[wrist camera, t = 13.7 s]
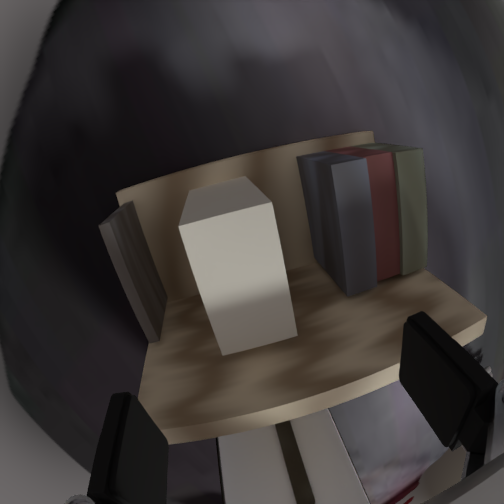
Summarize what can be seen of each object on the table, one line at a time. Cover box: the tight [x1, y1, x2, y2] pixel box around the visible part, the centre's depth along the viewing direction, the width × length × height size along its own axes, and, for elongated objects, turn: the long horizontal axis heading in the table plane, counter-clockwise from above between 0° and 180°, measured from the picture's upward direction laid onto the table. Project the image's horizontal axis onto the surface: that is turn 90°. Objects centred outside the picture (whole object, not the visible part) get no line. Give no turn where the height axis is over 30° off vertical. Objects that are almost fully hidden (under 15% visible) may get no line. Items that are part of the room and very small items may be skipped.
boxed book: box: [178, 176, 298, 356], centre depth 20 cm, size 4×8×10 cm, turn 12°
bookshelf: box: [99, 131, 487, 444], centre depth 19 cm, size 22×12×16 cm, turn 103°
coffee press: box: [216, 408, 370, 504], centre depth 21 cm, size 17×16×30 cm
